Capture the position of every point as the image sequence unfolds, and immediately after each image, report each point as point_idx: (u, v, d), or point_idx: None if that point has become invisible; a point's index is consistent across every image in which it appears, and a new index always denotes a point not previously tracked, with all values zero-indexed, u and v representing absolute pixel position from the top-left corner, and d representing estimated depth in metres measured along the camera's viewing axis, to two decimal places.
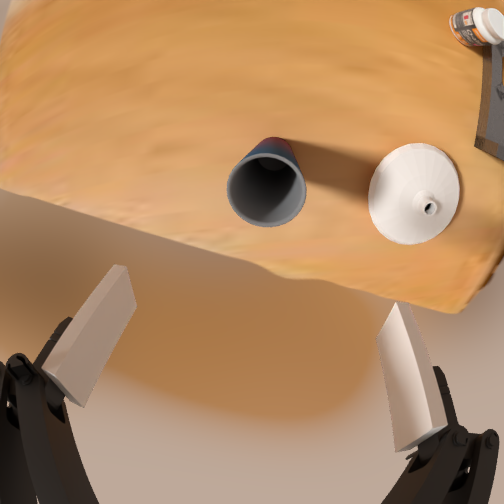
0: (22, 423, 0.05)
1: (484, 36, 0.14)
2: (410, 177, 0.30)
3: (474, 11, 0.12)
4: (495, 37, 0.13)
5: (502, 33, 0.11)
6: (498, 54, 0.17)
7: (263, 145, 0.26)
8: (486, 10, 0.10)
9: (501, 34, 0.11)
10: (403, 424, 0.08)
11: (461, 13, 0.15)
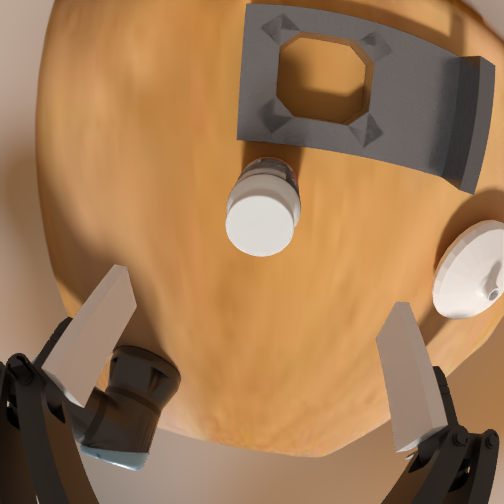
0: (22, 423, 0.05)
1: None
2: (461, 299, 0.26)
3: None
4: None
5: (281, 226, 0.18)
6: (292, 127, 0.21)
7: None
8: None
9: (285, 230, 0.18)
10: (403, 424, 0.08)
11: None
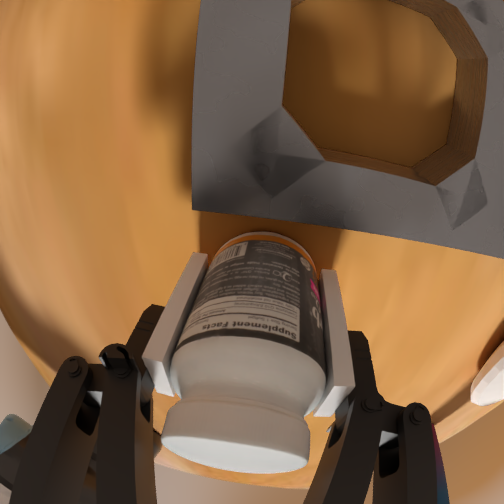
0: (103, 418, 0.06)
1: None
2: (502, 394, 0.14)
3: None
4: None
5: (280, 463, 0.06)
6: (319, 185, 0.09)
7: None
8: None
9: (288, 465, 0.06)
10: None
11: None
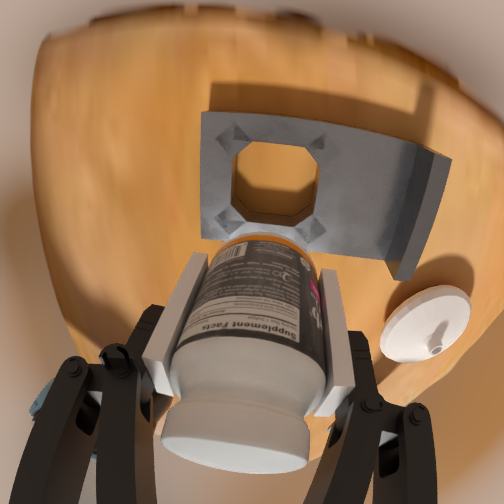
0: (103, 418, 0.06)
1: None
2: (406, 351, 0.32)
3: None
4: None
5: (280, 464, 0.06)
6: (245, 230, 0.27)
7: None
8: None
9: (287, 466, 0.06)
10: None
11: None
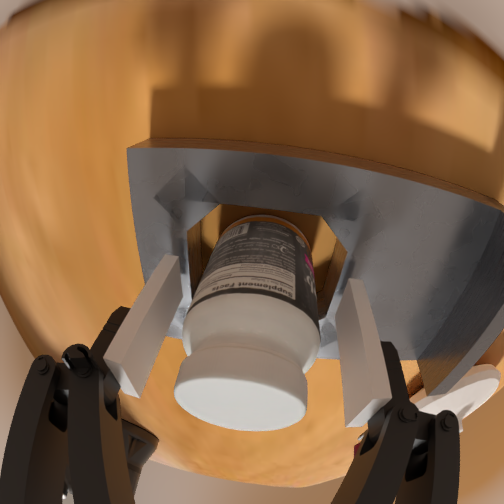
0: (71, 417, 0.06)
1: None
2: None
3: None
4: None
5: (281, 412, 0.08)
6: None
7: None
8: None
9: (288, 415, 0.08)
10: (351, 397, 0.09)
11: None
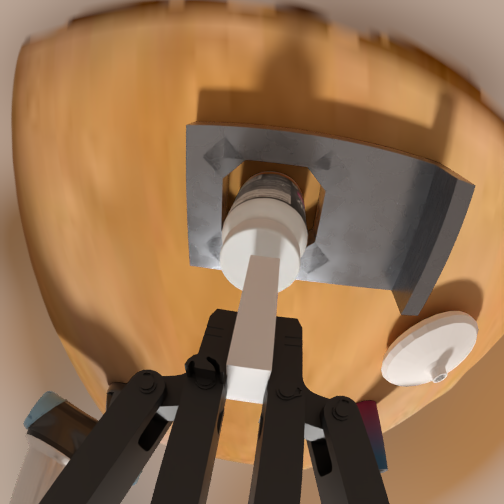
0: (177, 428, 0.06)
1: None
2: (409, 376, 0.30)
3: None
4: None
5: (285, 263, 0.15)
6: None
7: None
8: None
9: (289, 268, 0.15)
10: None
11: None
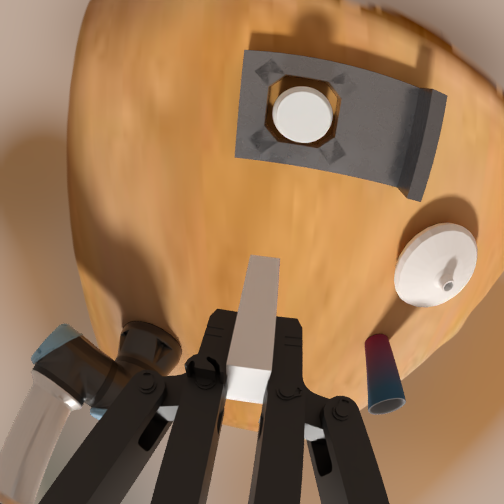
0: (177, 428, 0.06)
1: None
2: (420, 289, 0.35)
3: (290, 139, 0.24)
4: None
5: (321, 116, 0.20)
6: (275, 149, 0.29)
7: (367, 381, 0.42)
8: (288, 137, 0.22)
9: (324, 120, 0.20)
10: None
11: None
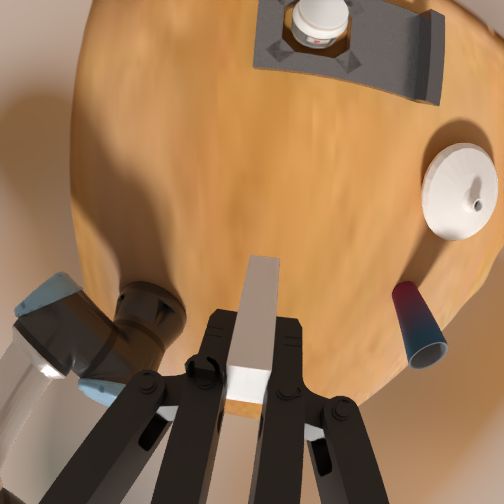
0: (177, 428, 0.06)
1: (345, 28, 0.19)
2: (449, 213, 0.30)
3: (310, 34, 0.20)
4: None
5: (339, 8, 0.16)
6: (293, 58, 0.25)
7: (402, 332, 0.37)
8: (311, 25, 0.17)
9: (342, 11, 0.16)
10: None
11: (306, 41, 0.23)
